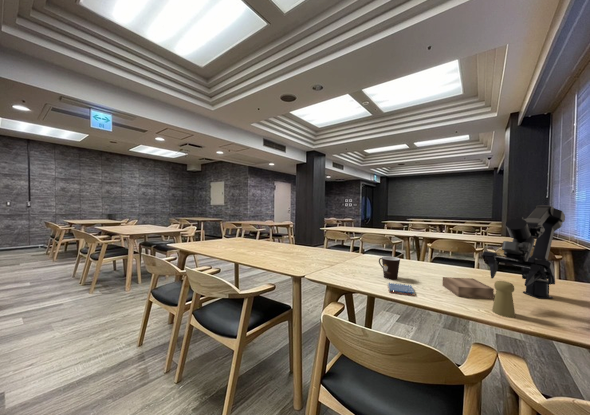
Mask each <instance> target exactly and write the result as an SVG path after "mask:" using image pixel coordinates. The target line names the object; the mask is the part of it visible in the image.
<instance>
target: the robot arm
mask: <svg viewBox="0 0 590 415" xmlns="http://www.w3.org/2000/svg"><path fill="white" fill-rule="evenodd" d="M565 221H566V214H565V213H564V212H563V210H560V209H558V208H555V207H554V206H552V205H536V206H534V209H533V211H532V212H531V213H530V214H529V215H528V216H527V217H526V218H524V216H515V218H511V219H509V220H508V221H506V222H505V226H506V229H507V232H508V234H509V237H510V238H511V239H512V241H508V240H504V241H502V247H501V250H502V251H503V255H504V256H505V257H504V256H499V255H498V254H497V252H494V251H489V250H487V251H486V250H485V251H483V252H482V253H481V257H482V261H483V262H484V264H485V265H487V266H488V267H489V272H490V279H492V280H493V279H494V278H495V276H496V274H497V271H498V269H499V265H500V263H502V264H507V265H508V264H509V265H513V266H515V267H516V266H517V267H521V278H522V279H523V280H525V282H524V286H525V291H524V290H522V293H523V294H525V295H528V296H531V297H534V298H536V299H554V297H553V296H551V295H550V286H551V285H556V277H555V268H554V265H553V262H552V261H551V260H549V256H550V251H551V247H552V242H553V238H554V235H555V232H556V231H557V230H558V229H560V228H561V227H562V224H563V223H564V222H565ZM535 238H536V239H535ZM532 250H533V252H532ZM531 253H532V255H531Z"/></svg>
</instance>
